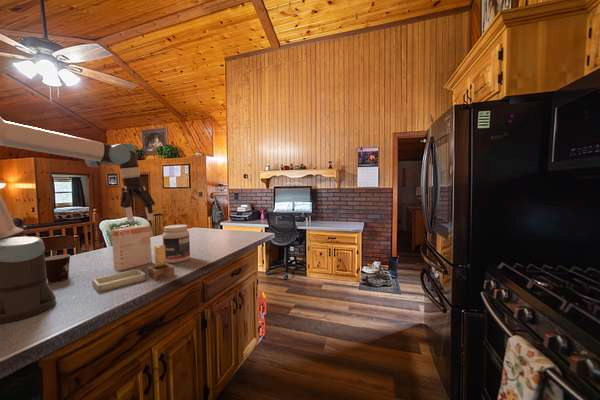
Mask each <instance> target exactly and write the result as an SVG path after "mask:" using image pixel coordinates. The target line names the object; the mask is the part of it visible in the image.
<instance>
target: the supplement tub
mask: <svg viewBox="0 0 600 400" xmlns="http://www.w3.org/2000/svg"><path fill="white" fill-rule="evenodd" d="M190 245H191V244H190V232H189V230H188V224H172V225H167V226H165V225H164V227H163V234H162V246H165V258H166V263H168V264H176V263H182V262H185V261H187V260H189V259H190V258H191V248H190V247H191V246H190Z"/></svg>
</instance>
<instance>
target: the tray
mask: <svg viewBox="0 0 600 400" xmlns="http://www.w3.org/2000/svg"><path fill="white" fill-rule="evenodd" d="M143 281H147V274H146V273H145V272H143V271H142V270H140V269H139V268H135V269H131V270H126V271H123V272H117V273H114V274H108V275H105V276H100V277H95V278H92V279H91V284H92V287H93V288H94V289H95V290H96V291H97V292H98V293H102V292H104V291H109V290H113V289H117V288H119V287H121V288H122V287H123V286H124V287H125V286H128V285H130V284H131V285H132V284H135V283H139V282H143Z"/></svg>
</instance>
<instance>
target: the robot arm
mask: <svg viewBox="0 0 600 400" xmlns="http://www.w3.org/2000/svg"><path fill="white" fill-rule="evenodd" d="M0 146H3V147H9V148H14V149H15V148H16V149H21V150H22V149H23V150H27V151H33V152H41V153H45V154H53V155H59V156H63V157H64V156H66V157H71V158H77V159H82V160H84V162H85V164H86V165H87V167H90V168H98V167H99V168H100V167H110V166H119V170H120V175H121V176H120V177H122V179H121V180H122V184H123V186H124V187H121V197H120V204H119V205H120V207H121V208H124V212H125V214H126V215H125V216H126V219H127V221H128V222H129V221H133V220H135V218H134V214H133V209H132V206H131V205H132V201H133V199H134V197H137V198H139V200H140V201H141V203H143V205H144V206H145V207H144V210H145V214H146V215H145V216H146V219H147V221H148V222H149V221H150V222H151V221H153V220H154V219H155V218H154V214H153V212H154V211H153V210H154V209H153V206H154V205H156V202H155V201H154V199H153V198H152V195H151V194H150V192H149V191H148V188H147V185H143V181H142V177H141V176H140V175H141V171H140V167H139V161H138V155H137V154H138V153H137V152H136V147H135V145H134V144H133V143H117V144H109V143H105V142H100V141H96V140H91V139H87V138H83V137H77V136H73V135H69V134H66V133H65V134H64V133H60V132H56V131H50V130H48V129H46V130H45V129H42V128H38V127H35V126H34V127H33V126H30V125H24V124H19V123H15V122H11V121H6V120H4V119H3V118H2V117H1V116H0ZM45 246H46V245H44V240H43V239H42V238H40V237H37V236H27V234H26V232H25V229H24V228H21V227H17V226H16V225H15V223H14V220H13V219H12V216H11V214H10V212H9V210H8V208H7V206H6V203H5V201H4V200H3V196H2V195H1V194H0V324H5V323H12V322H16V321H19V320H23V319H27V318H30V317H33V316H36V315H40V314H41V313H44V312H46V311H48V310H50V309H51V308H53V307H54V306H55V305H56V304H57V300H56V295H55V294H54V292H53V290H52V288H51V287H50V285H49V283H48V281H47V277H46V263H45V258H46V255H45V250H46V247H45Z"/></svg>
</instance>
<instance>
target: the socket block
mask: <svg viewBox="0 0 600 400" xmlns="http://www.w3.org/2000/svg"><path fill="white" fill-rule="evenodd" d="M172 276H175V266H174V265H173V264H171V263H168V262H166V267H165V268H161V269H156V265H153V266H152V265H151V266H148V267H147V277H148V278H150V279H151V280H154V281H158V280H161V279H165V278H170V277H172Z"/></svg>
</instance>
